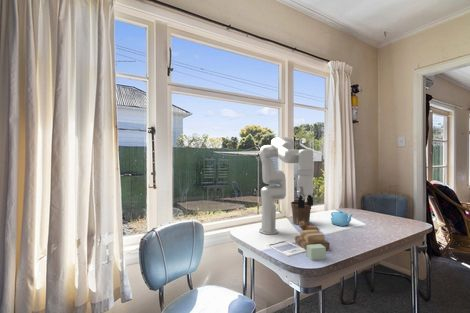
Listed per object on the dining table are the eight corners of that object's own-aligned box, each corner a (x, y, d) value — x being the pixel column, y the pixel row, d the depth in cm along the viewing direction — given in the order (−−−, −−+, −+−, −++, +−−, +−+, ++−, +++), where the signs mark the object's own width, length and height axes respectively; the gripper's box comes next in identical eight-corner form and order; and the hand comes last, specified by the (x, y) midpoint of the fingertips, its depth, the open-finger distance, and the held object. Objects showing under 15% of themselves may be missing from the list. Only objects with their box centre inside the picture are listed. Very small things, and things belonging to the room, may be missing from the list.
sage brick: (306, 256, 131) (306, 244, 131) (320, 255, 133) (320, 243, 133) (311, 260, 126) (311, 248, 126) (325, 259, 128) (325, 247, 128)
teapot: (349, 214, 180) (326, 209, 194) (348, 229, 180) (326, 223, 195) (357, 212, 188) (335, 208, 202) (357, 226, 188) (335, 221, 202)
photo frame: (287, 255, 130) (266, 244, 146) (287, 257, 130) (266, 246, 146) (307, 249, 138) (285, 240, 153) (307, 251, 138) (285, 241, 153)
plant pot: (309, 228, 182) (309, 206, 182) (287, 224, 190) (287, 203, 190) (313, 222, 196) (314, 202, 196) (293, 219, 204) (294, 200, 204)
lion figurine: (298, 235, 165) (298, 221, 165) (299, 233, 170) (299, 219, 170) (321, 238, 160) (321, 224, 160) (322, 235, 165) (322, 222, 164)
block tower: (295, 242, 151) (295, 229, 151) (316, 241, 154) (316, 228, 154) (306, 251, 137) (306, 237, 137) (329, 249, 140) (329, 235, 140)
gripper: (306, 172, 137) (306, 203, 136) (290, 173, 124) (290, 208, 123) (319, 172, 132) (319, 205, 131) (304, 174, 119) (304, 210, 118)
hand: (305, 206), depth 127 cm, fingers open, 9 cm apart
